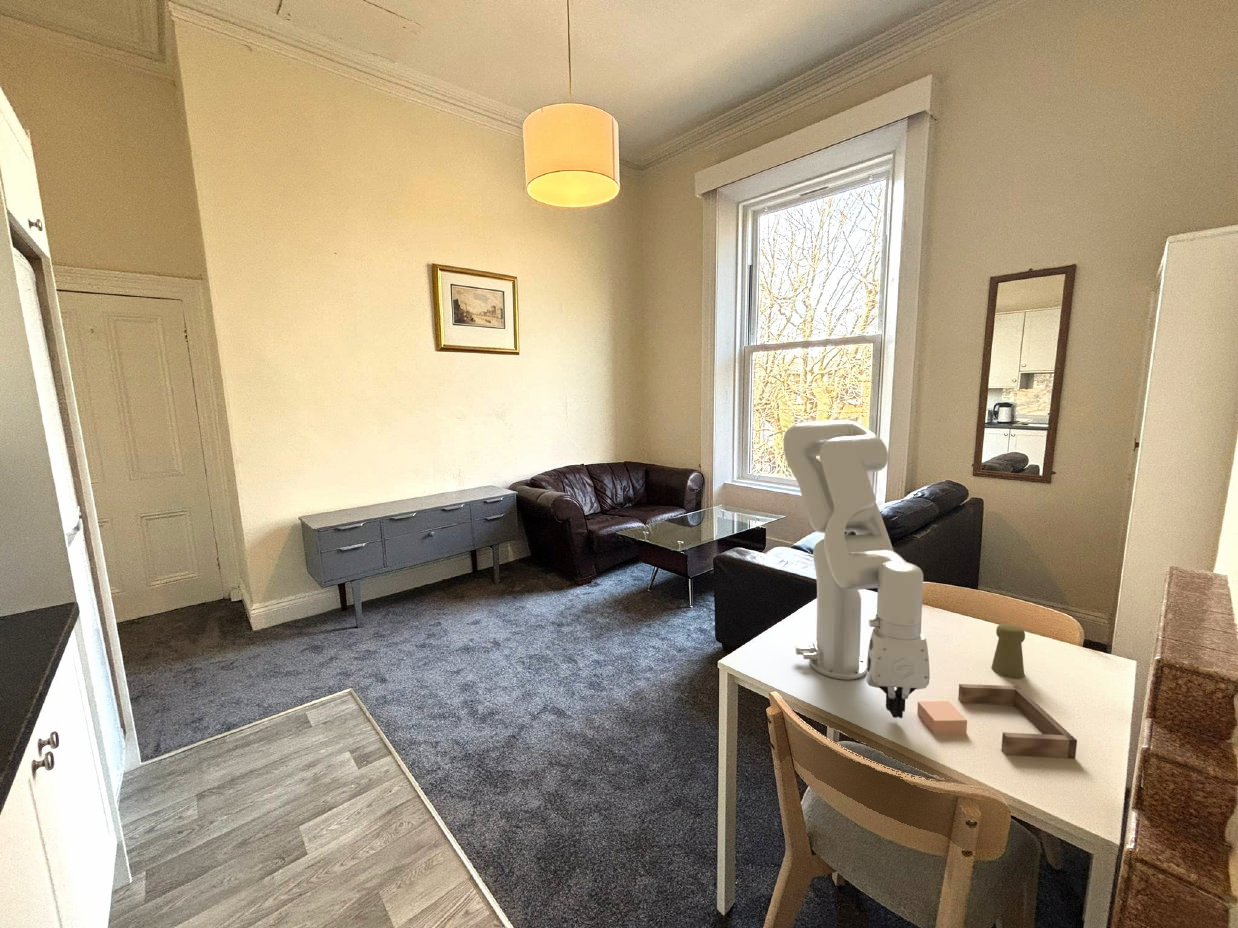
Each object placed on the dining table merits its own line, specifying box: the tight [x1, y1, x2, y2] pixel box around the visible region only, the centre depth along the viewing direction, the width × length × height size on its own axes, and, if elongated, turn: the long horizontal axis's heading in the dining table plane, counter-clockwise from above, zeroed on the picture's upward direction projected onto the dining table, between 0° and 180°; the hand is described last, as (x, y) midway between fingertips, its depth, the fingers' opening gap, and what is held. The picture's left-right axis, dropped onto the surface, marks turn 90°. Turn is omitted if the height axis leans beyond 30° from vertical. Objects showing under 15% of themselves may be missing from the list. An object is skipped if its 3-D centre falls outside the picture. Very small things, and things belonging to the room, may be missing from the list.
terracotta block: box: [916, 700, 968, 735], centre depth 100 cm, size 6×6×3 cm
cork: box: [991, 622, 1026, 680], centre depth 116 cm, size 6×6×11 cm
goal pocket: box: [957, 683, 1078, 759], centre depth 98 cm, size 11×16×4 cm
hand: (895, 713), depth 101 cm, fingers closed
